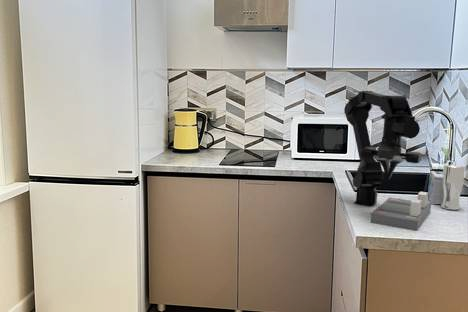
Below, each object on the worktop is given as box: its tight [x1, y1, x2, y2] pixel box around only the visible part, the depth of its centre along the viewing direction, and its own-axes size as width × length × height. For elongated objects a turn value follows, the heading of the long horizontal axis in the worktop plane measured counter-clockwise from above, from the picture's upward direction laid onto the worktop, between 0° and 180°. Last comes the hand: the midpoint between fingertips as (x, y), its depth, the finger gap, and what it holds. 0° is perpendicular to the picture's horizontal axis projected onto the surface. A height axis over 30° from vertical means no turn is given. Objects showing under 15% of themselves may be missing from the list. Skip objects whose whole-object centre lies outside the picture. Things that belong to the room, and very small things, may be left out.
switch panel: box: [370, 197, 432, 231], centre depth 153 cm, size 14×24×3 cm, turn 148°
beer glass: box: [440, 164, 465, 211], centre depth 164 cm, size 7×7×15 cm
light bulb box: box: [427, 170, 443, 205], centre depth 173 cm, size 11×7×11 cm, turn 166°
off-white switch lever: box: [410, 198, 421, 217], centre depth 145 cm, size 2×4×4 cm, turn 148°
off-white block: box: [417, 191, 428, 208], centre depth 155 cm, size 2×4×4 cm, turn 148°
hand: (387, 179), depth 155 cm, fingers closed
